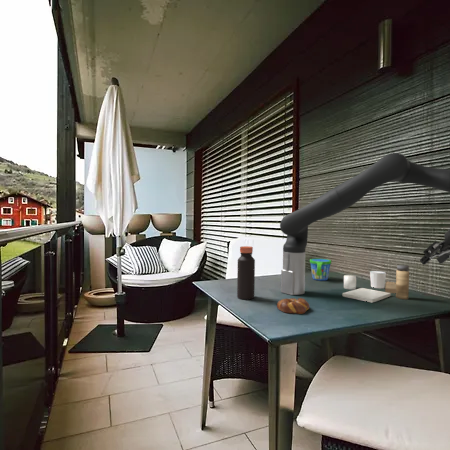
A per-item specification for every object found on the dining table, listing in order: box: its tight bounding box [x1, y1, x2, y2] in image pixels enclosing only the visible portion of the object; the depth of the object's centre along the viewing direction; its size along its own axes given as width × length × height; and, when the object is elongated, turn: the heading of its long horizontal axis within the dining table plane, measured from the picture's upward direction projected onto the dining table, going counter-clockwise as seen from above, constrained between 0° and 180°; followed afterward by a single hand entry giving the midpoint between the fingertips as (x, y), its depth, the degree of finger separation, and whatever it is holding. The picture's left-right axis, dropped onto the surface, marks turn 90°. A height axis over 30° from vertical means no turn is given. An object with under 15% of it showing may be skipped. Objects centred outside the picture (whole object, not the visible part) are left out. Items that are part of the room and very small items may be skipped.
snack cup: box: [309, 258, 332, 282], centre depth 157 cm, size 16×10×10 cm
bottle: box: [236, 245, 256, 301], centre depth 120 cm, size 7×7×20 cm
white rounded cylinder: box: [343, 274, 357, 290], centre depth 138 cm, size 5×5×6 cm
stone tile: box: [341, 287, 392, 304], centre depth 124 cm, size 16×12×1 cm
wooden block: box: [384, 281, 396, 294], centre depth 132 cm, size 4×4×4 cm
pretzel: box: [276, 297, 310, 315], centre depth 106 cm, size 12×11×4 cm
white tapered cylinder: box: [369, 270, 387, 289], centre depth 141 cm, size 7×7×7 cm
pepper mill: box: [395, 264, 410, 300], centre depth 122 cm, size 4×4×13 cm
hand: (430, 262), depth 111 cm, fingers open, 8 cm apart
